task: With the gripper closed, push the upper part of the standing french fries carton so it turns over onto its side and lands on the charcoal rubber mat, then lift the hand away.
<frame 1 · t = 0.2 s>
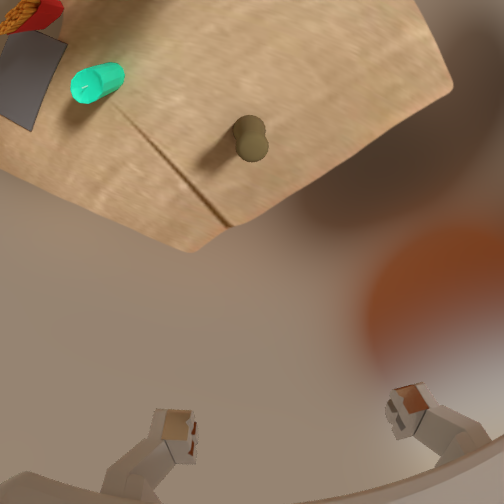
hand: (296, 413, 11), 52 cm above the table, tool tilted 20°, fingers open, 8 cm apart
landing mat: (21, 75, 40), on the table
french fries: (48, 16, 34), on the table
cork: (249, 130, 54), on the table
candle: (110, 77, 45), on the table
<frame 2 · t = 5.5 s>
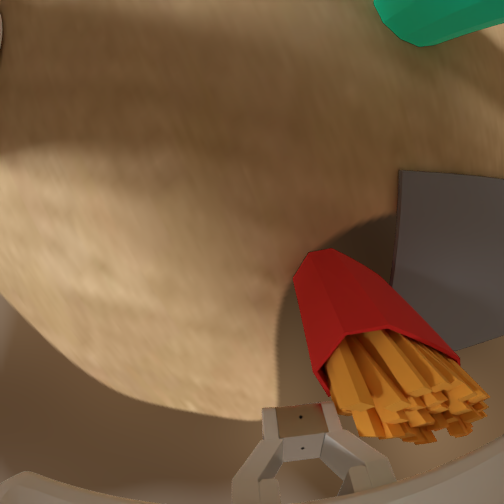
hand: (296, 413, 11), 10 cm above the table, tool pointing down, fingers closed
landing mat: (482, 270, 21), on the table
french fries: (343, 285, 21), on the table, touching gripper
candle: (409, 11, 14), on the table
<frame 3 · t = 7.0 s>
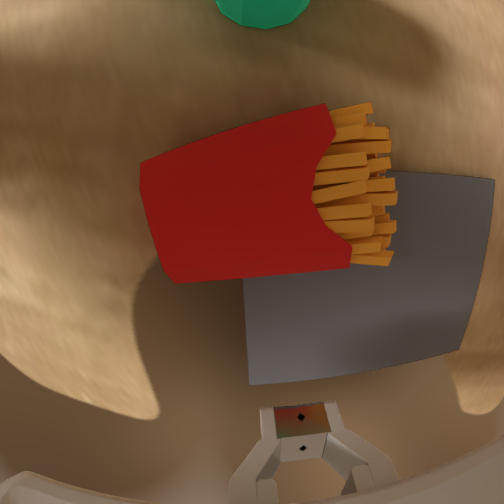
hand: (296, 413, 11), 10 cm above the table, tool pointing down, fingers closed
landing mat: (382, 283, 21), on the table
french fries: (160, 225, 17), point 2 cm above the table, touching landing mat
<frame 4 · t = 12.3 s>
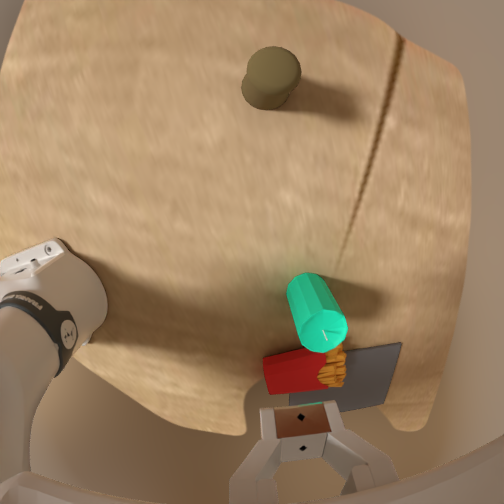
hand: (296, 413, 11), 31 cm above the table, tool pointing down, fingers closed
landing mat: (343, 383, 51), on the table
french fries: (265, 378, 47), point 2 cm above the table, touching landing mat
cork: (265, 87, 35), on the table
candle: (306, 290, 44), on the table
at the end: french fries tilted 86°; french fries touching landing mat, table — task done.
